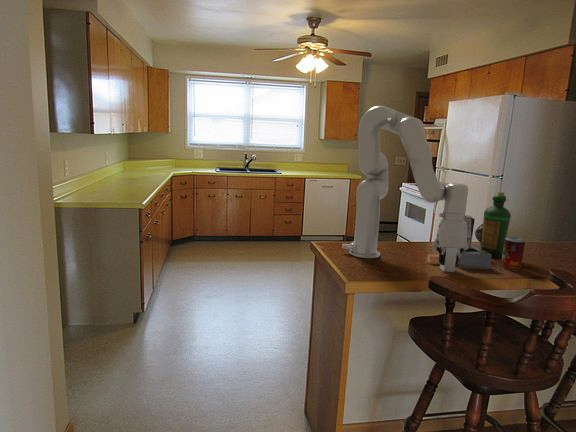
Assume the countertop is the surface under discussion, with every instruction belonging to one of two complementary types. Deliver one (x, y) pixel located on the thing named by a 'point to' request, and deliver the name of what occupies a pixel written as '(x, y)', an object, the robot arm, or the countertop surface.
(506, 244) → the soda can
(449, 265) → the steel wedge
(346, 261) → the countertop surface
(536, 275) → the countertop surface
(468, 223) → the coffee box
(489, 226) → the bottle
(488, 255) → the bracket head
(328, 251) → the countertop surface
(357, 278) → the countertop surface
